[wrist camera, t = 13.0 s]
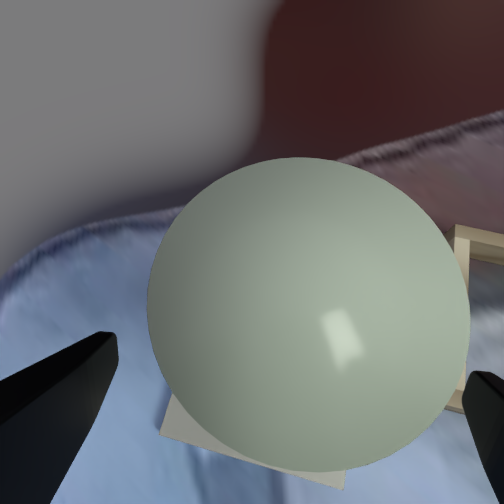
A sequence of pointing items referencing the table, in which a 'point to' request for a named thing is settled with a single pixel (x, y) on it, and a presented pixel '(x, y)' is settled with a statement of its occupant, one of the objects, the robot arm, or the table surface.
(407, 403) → the ceramic canister
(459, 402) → the birch collar
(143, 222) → the table surface
